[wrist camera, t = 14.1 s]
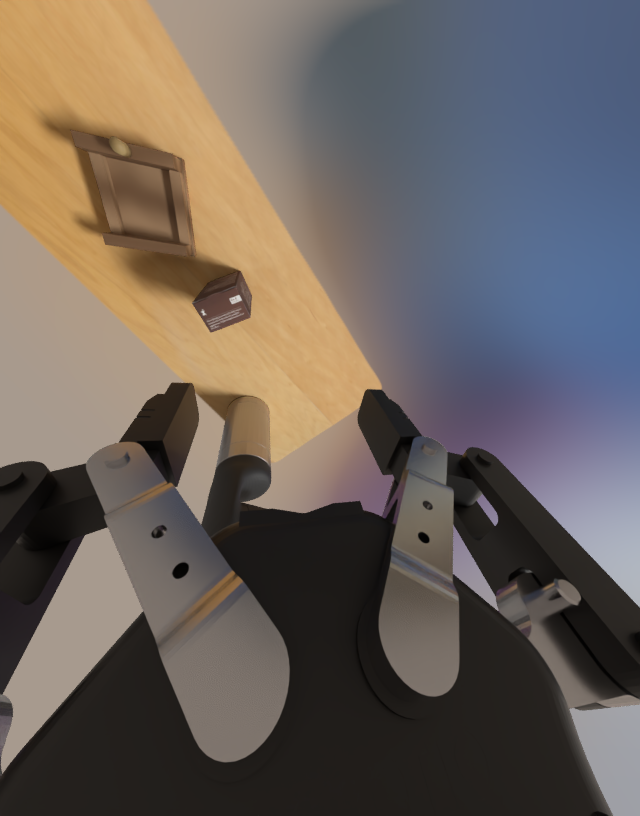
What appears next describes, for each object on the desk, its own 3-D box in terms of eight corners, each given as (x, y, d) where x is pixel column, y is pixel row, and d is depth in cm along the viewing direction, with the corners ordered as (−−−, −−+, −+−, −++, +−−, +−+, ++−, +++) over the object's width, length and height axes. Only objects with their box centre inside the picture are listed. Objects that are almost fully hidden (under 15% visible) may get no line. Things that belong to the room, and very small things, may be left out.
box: (222, 310, 41) (209, 334, 32) (207, 282, 39) (188, 300, 29) (254, 297, 41) (251, 318, 32) (241, 269, 38) (234, 282, 29)
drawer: (196, 256, 36) (185, 260, 31) (120, 244, 34) (95, 247, 29) (184, 160, 30) (167, 146, 25) (91, 138, 28) (53, 118, 23)
